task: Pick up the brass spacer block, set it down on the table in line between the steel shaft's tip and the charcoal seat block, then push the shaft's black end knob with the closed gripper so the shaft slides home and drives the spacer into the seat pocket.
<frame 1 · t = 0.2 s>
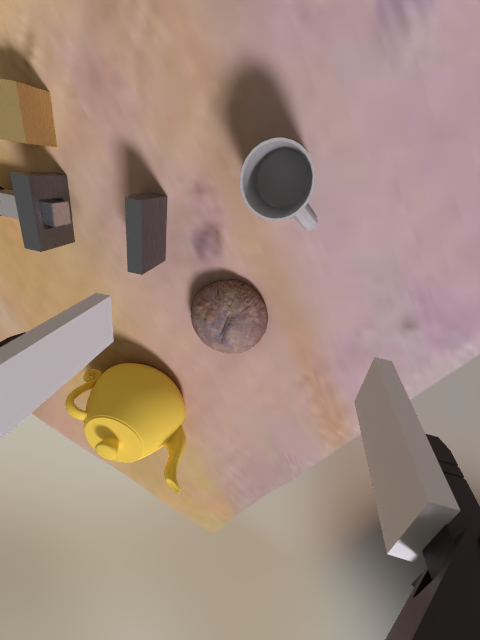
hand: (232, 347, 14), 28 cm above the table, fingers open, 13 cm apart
cup: (290, 189, 36), on the table
spacer: (40, 118, 38), on the table
shaft: (23, 206, 41), point 3 cm above the table, slide at 0.0 cm
teapot: (152, 396, 57), on the table
housing: (101, 216, 42), on the table
decorative stone: (230, 313, 46), on the table
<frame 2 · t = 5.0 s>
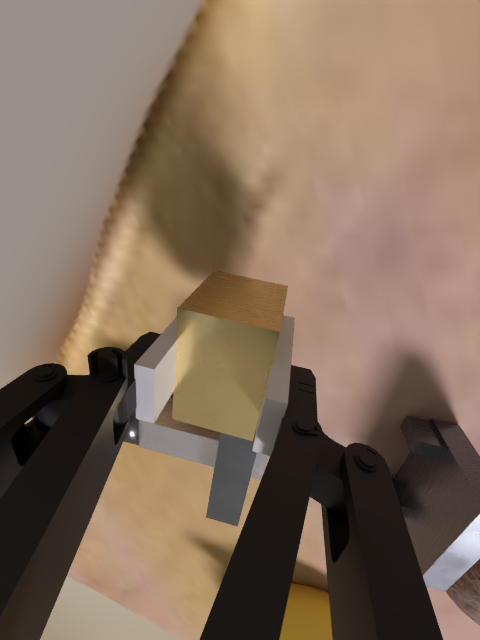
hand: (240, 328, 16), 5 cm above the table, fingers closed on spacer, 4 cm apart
spacer: (242, 327, 17), point 5 cm above the table, touching gripper
shaft: (194, 431, 23), point 3 cm above the table, slide at 0.0 cm
teapot: (308, 613, 40), on the table
housing: (314, 433, 25), on the table
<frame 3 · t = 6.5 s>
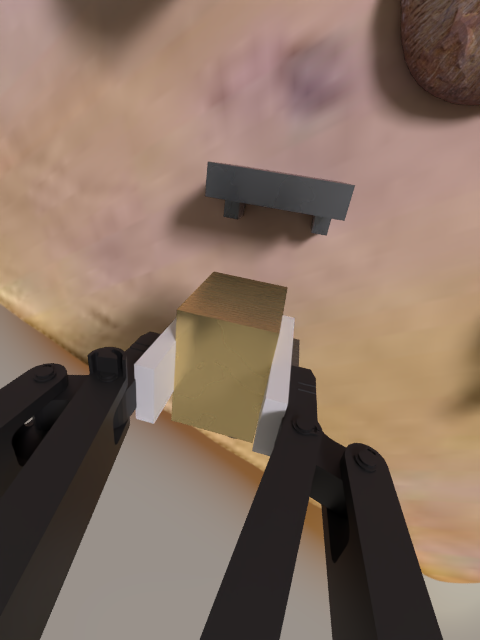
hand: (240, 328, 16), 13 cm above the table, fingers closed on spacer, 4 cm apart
spacer: (241, 328, 17), point 12 cm above the table, touching gripper
housing: (264, 286, 28), on the table
when the fingers open (0 cm above the table, at t = 8.0 s): spacer stays where it is, on the table.
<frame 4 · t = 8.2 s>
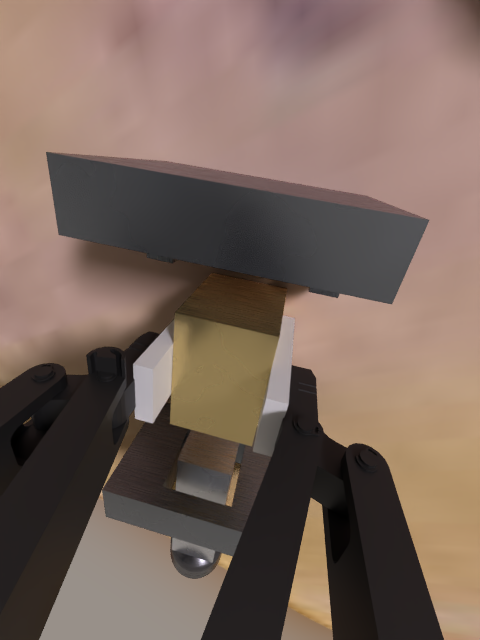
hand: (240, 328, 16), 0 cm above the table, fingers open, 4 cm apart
spacer: (240, 329, 16), on the table, touching gripper
shaft: (203, 502, 20), point 3 cm above the table, slide at 0.0 cm
housing: (232, 359, 17), on the table
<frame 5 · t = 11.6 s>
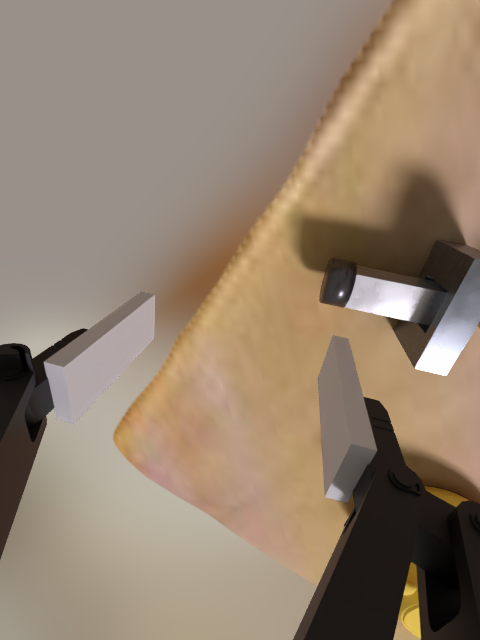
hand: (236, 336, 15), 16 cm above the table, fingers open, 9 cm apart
shaft: (394, 295, 25), point 3 cm above the table, slide at 0.0 cm
teapot: (425, 521, 42), on the table
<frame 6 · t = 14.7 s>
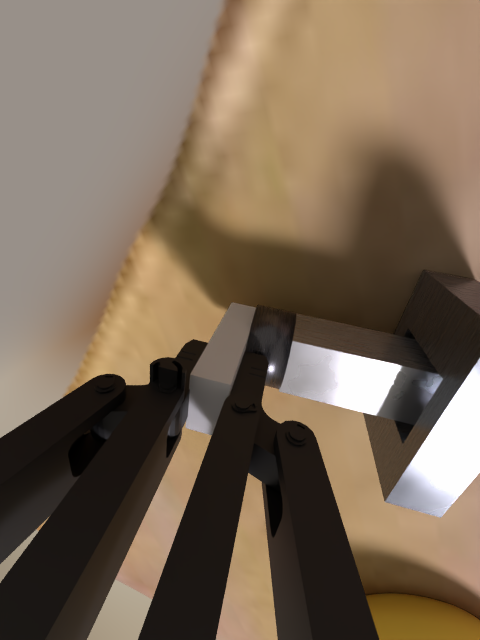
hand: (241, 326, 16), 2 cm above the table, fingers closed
shaft: (365, 368, 15), point 3 cm above the table, slide at 0.7 cm, touching gripper
teapot: (417, 631, 31), on the table
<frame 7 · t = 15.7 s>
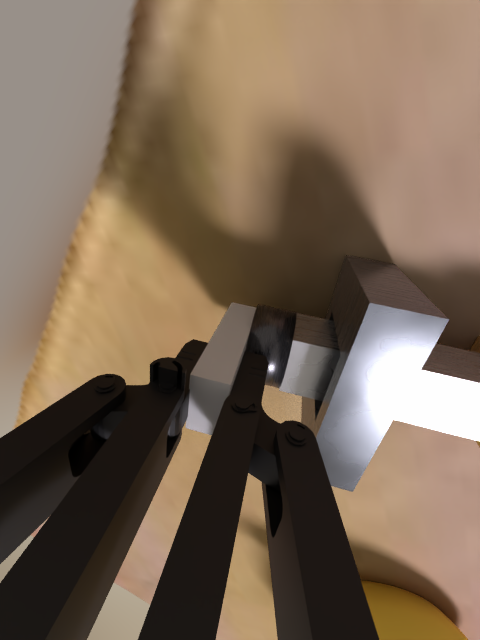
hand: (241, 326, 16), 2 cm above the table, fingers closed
shaft: (365, 368, 15), point 3 cm above the table, slide at 4.6 cm, touching gripper, spacer
teapot: (378, 618, 32), on the table
housing: (451, 360, 17), on the table
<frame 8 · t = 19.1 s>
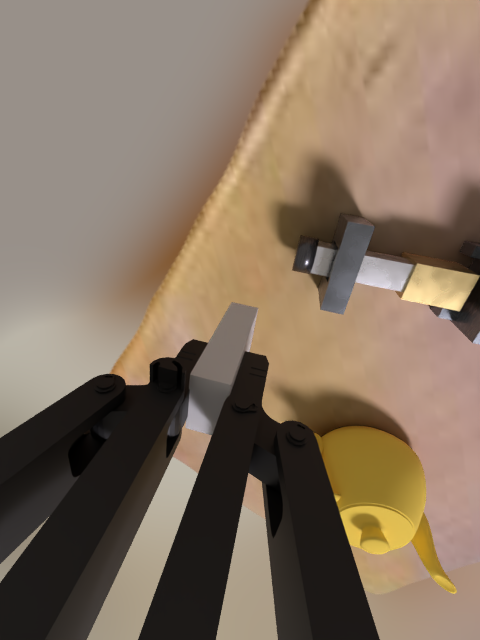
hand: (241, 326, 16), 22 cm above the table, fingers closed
spacer: (421, 273, 34), on the table
shaft: (349, 263, 32), point 3 cm above the table, slide at 4.6 cm
teapot: (363, 459, 49), on the table
housing: (391, 265, 34), on the table
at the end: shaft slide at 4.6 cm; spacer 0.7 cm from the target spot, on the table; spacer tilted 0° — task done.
